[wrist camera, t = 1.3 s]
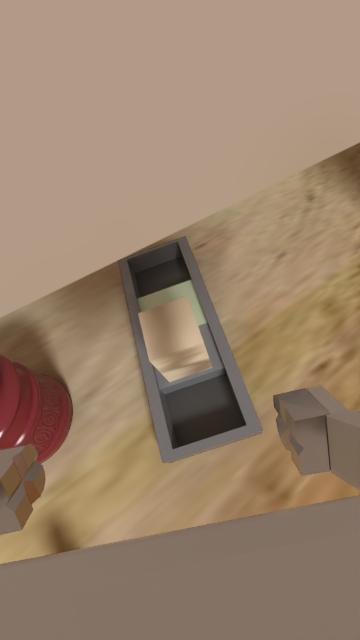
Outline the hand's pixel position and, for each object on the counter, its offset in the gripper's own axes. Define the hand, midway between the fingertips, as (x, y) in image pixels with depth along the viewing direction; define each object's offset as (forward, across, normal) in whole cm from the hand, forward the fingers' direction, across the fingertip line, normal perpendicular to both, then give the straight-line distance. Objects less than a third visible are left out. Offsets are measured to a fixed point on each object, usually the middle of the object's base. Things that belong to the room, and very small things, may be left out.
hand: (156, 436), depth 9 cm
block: (+28, -1, +8) cm, 29 cm away
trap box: (+33, 0, +7) cm, 34 cm away
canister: (+30, +23, +14) cm, 40 cm away
